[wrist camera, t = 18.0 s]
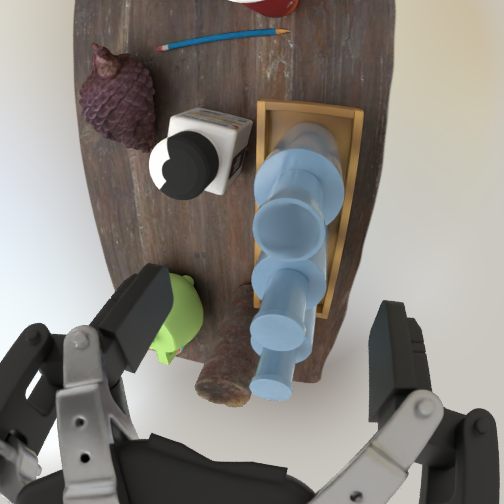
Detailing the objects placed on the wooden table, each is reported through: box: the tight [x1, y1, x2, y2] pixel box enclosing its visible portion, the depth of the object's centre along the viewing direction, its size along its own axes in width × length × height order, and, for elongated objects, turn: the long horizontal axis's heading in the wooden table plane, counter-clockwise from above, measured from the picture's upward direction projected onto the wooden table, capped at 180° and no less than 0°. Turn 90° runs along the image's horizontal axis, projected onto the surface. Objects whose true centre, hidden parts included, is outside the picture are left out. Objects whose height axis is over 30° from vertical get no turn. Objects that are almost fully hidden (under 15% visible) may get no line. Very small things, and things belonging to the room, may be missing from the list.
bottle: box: [252, 122, 344, 262], centre depth 21 cm, size 6×6×16 cm
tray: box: [254, 99, 364, 319], centre depth 34 cm, size 25×9×10 cm, turn 179°
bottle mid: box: [250, 224, 329, 351], centre depth 25 cm, size 6×6×16 cm
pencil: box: [158, 29, 290, 52], centre depth 29 cm, size 1×17×1 cm, turn 94°
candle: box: [195, 285, 260, 407], centre depth 43 cm, size 8×7×20 cm
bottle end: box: [249, 305, 317, 401], centre depth 30 cm, size 6×6×16 cm
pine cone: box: [79, 43, 156, 153], centre depth 32 cm, size 18×10×10 cm
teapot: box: [149, 273, 204, 365], centre depth 50 cm, size 20×13×13 cm
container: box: [149, 107, 253, 200], centre depth 32 cm, size 8×8×13 cm
